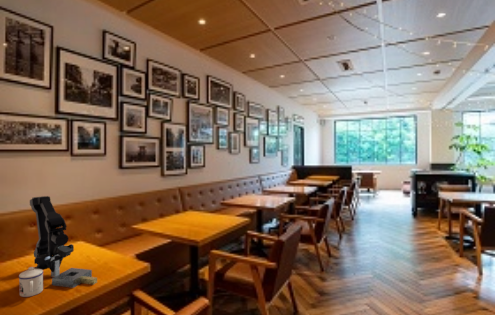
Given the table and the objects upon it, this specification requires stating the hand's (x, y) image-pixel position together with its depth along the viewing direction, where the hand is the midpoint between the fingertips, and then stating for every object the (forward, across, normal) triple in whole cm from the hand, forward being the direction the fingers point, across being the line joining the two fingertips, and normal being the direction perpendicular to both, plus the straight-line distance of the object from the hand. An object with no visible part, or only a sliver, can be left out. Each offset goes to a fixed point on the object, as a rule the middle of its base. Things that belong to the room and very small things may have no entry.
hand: (55, 270), depth 149 cm
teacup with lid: (+3, -18, -5) cm, 19 cm away
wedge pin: (+2, 0, 0) cm, 2 cm away
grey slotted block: (+2, -3, -16) cm, 17 cm away
